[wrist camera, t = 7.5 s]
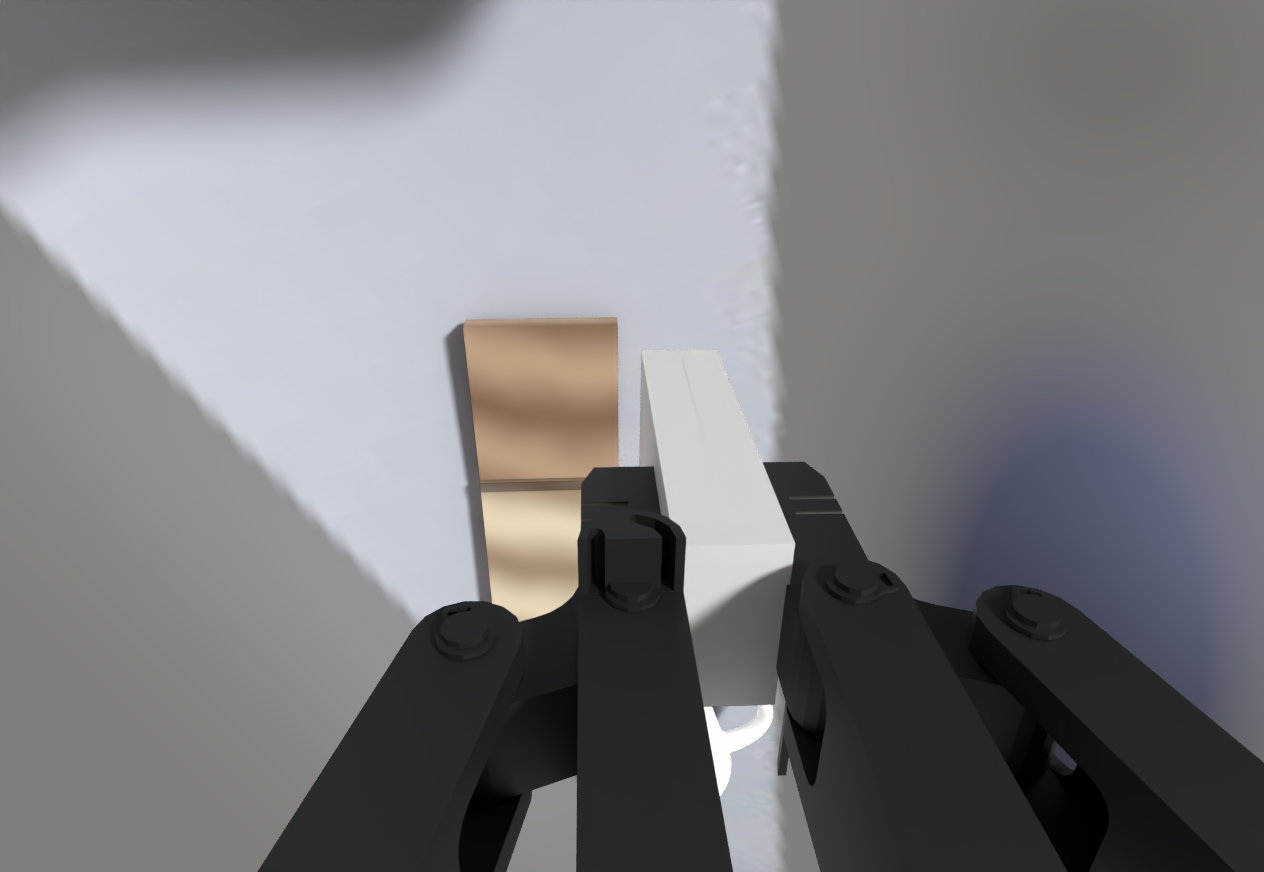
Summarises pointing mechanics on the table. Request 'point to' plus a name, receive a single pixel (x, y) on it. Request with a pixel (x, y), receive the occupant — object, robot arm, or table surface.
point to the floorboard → (532, 542)
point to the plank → (543, 396)
